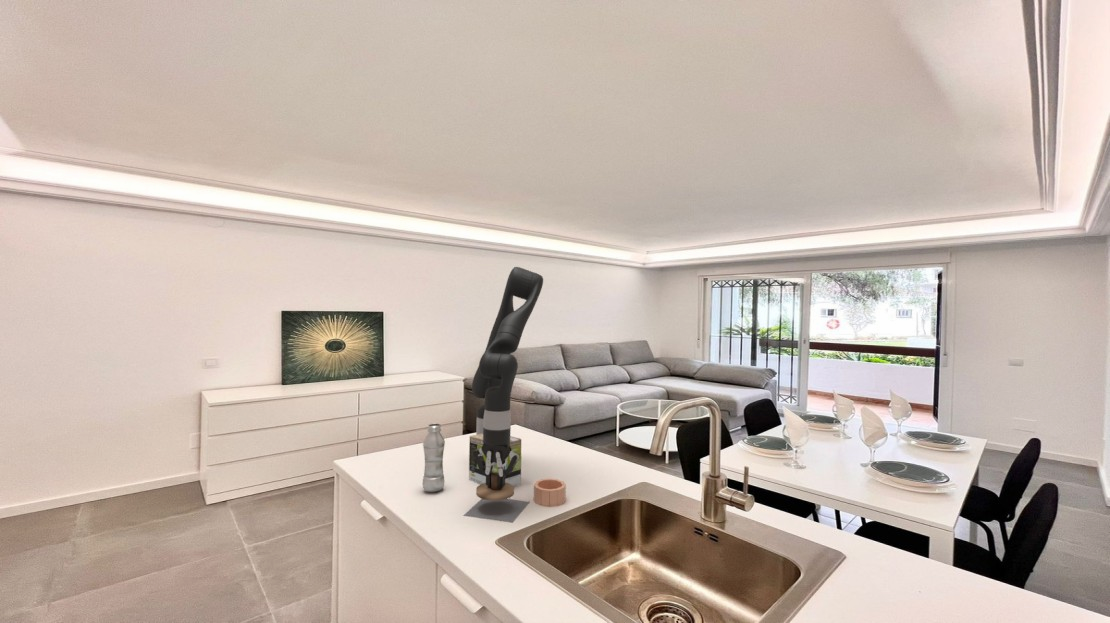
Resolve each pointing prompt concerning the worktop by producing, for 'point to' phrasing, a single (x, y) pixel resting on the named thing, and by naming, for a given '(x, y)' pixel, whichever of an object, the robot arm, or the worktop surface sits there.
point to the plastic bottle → (433, 459)
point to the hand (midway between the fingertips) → (495, 487)
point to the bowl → (549, 492)
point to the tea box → (480, 477)
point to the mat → (498, 509)
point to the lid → (494, 490)
